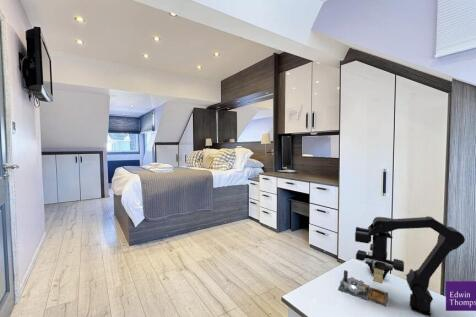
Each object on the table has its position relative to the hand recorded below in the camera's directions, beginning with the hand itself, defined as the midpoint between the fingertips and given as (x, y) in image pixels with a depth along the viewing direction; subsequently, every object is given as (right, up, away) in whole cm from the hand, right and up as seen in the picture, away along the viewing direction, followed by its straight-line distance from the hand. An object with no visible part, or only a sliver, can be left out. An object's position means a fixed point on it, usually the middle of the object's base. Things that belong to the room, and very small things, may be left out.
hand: (378, 277), depth 105 cm
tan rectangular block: (0, -1, 0) cm, 1 cm away
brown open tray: (0, -10, +1) cm, 10 cm away
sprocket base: (-8, -9, +7) cm, 14 cm away
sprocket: (-8, -9, +7) cm, 14 cm away
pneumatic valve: (+11, -9, +20) cm, 24 cm away
